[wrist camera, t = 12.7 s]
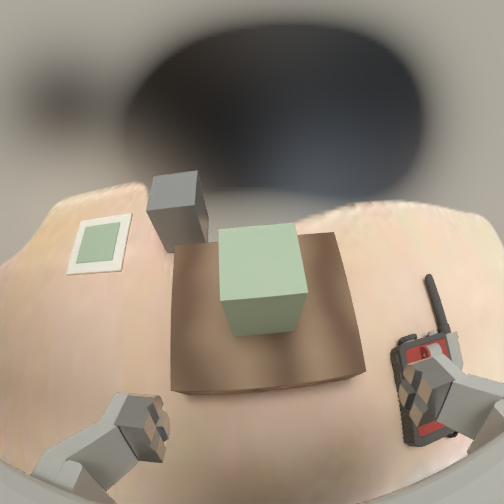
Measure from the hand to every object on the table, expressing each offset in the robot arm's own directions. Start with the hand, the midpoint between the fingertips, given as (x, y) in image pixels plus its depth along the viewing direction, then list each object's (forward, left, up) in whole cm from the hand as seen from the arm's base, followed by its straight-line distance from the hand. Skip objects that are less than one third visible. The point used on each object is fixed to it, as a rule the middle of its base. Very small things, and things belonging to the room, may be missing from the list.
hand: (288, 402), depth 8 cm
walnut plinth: (0, +9, -18) cm, 20 cm away
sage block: (0, +9, -13) cm, 16 cm away
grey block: (-8, +21, -19) cm, 29 cm away
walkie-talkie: (+17, +1, -19) cm, 26 cm away
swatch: (-21, +21, -18) cm, 35 cm away
